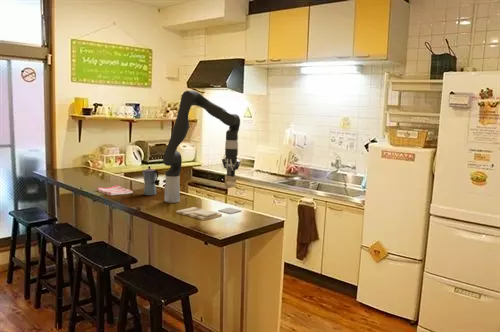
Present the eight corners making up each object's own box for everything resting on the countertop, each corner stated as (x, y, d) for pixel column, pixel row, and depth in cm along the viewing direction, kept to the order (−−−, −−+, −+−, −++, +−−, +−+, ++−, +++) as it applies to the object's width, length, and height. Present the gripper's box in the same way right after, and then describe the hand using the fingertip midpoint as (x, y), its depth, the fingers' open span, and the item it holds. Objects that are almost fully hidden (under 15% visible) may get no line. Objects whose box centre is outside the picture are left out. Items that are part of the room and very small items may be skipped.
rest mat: (218, 211, 255) (218, 210, 255) (229, 208, 263) (229, 207, 263) (230, 214, 249) (230, 213, 249) (241, 211, 256) (241, 210, 256)
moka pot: (147, 192, 304) (147, 164, 302) (163, 195, 297) (163, 166, 294) (137, 194, 296) (137, 166, 294) (154, 197, 288) (154, 168, 286)
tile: (206, 215, 235) (206, 216, 235) (217, 212, 242) (217, 213, 242) (193, 212, 242) (193, 213, 242) (204, 209, 249) (204, 211, 249)
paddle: (224, 187, 252) (225, 167, 250) (232, 186, 257) (233, 166, 256) (228, 188, 250) (228, 168, 249) (235, 186, 256) (236, 167, 254)
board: (175, 212, 248) (175, 210, 248) (193, 208, 259) (193, 206, 259) (204, 220, 233) (204, 218, 233) (221, 216, 244) (221, 213, 243)
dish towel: (118, 189, 315) (118, 184, 315) (133, 194, 299) (133, 189, 298) (96, 191, 303) (96, 186, 303) (110, 197, 287) (110, 192, 286)
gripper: (218, 147, 252) (218, 175, 254) (236, 149, 243) (235, 178, 246) (227, 146, 258) (226, 174, 260) (244, 148, 249) (243, 177, 251)
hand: (230, 176), depth 253 cm, fingers closed on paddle, 2 cm apart
